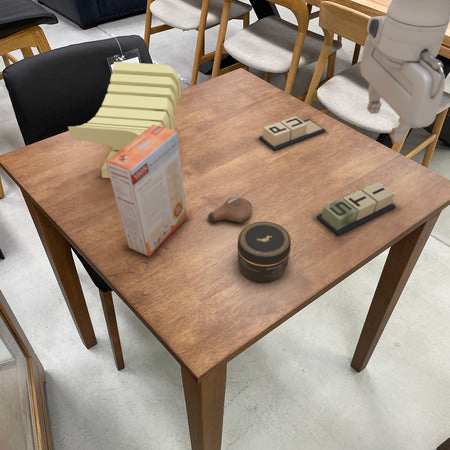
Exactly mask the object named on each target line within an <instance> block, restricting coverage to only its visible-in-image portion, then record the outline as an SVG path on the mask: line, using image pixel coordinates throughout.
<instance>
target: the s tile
mask: <svg viewBox="0 0 450 450" xmlns="http://www.w3.org/2000/svg"><path fill="white" fill-rule="evenodd" d="M321 214H322V218H323V219H324V220H325V221H326V222H328V223H329V224H330V225H331V226H332V227H333V228H335V229H336V230H339V229H341V228H343V227H345V226H347V225H349V224H351V223H353V222H355V218H356V215H357V210H355V209H354V208H353V207H352V206H350V205H349V204H348V203H346V202H345V201H344V200H343V198H340V199H337V200H335V201H333V202H331V203H329V204H327V205H324V206H323V208H322V213H321Z"/></svg>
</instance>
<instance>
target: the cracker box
mask: <svg viewBox="0 0 450 450" xmlns="http://www.w3.org/2000/svg"><path fill="white" fill-rule="evenodd" d="M105 162H106V165H107V169H108V173H109V176H110V178H109V180H110V184H111V187H112V191H113V195H114V198H115V202H116V206H117V209H118V210H117V211H118V214H119V217H120V221H121V226H122V229H123V232H124V237H125V240H126V245H127V247H128V249H130V250H133V251H135V252H137V253H139V254H142V255H144V256H146V257H151V256H152V255H153V254H154V253H155V252H156V251H157V250H158V249H159V248H160V246H162V245H163V244H164V242H165V241H166V240H168V238H170V237H171V235H172V234H173V233H174V232H175V231H176V230H177V229H178V228H179V227H180V226H181V225H182V224H183V223H184V222H185V221H186V220H187V218H188V216H187V208H186V200H185V199H186V198H185V191H184V190H185V189H184V180H183V172H182V162H181V155H180V145H179V136H178V131H177V130H175V131H174V130H170V129H167V128H164V127H160V126H157V125H154V124H153V125H152V126H150V127H149V128H148V129H147V130H145V131H144V132H143V133H141V134H140V135H139V136H138V137H136V138H135V139H134V140H132V141H131V142H130V143H129V144H127V145H126V146H125V147H123V148H122V149H121V150H119V151H118V152H117V153H115V154H114V155H113V156H112V157H110V158H109V159H108V160H106V159H105Z"/></svg>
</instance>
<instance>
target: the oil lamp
mask: <svg viewBox="0 0 450 450" xmlns="http://www.w3.org/2000/svg"><path fill="white" fill-rule="evenodd" d="M252 214H253V205H252V203H251V202H250V201H249V200H248V199H246V198H245V197H244V198H243V197H240V196H237V197H228V198H227V200H226V201H224V202H223V204H221V206H218V207H217V208H216V209H215V210H213V211H211V212H209V214H208V215H207V218H208V220H209V221H210V222H212V223H214V222H219V221H225V220H228V221H231V222H238V223H243V222H244V221H245V220H246V219H248V218H249V217H250V216H252Z"/></svg>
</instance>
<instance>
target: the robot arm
mask: <svg viewBox="0 0 450 450" xmlns="http://www.w3.org/2000/svg"><path fill="white" fill-rule="evenodd" d="M449 24H450V0H391V2H390V4H389V5H388V7H387V10H386V14H385V15H377V16H371V17H369V19H368V22H367V27H366V31H367V33H368V34H367V35H366V39H365V41H364V45H363V50H362V54H361V57H360V58H361V59H360V65H359V66H360V67H359V69H360V75H361V76H362V77H363V78H364V80H366V82H367V83H368V87H367V88H368V103H367V106H366V109H367V111H368V112H369V114H371V115H375V114H379V113H380V111H381V107H382V102H381V98H382V100H384V102H386V104H387V105H388V107H390V108H391V109H392V110H393V111H394V112H395V114H396V115H397V116H398V123H399V124H398V125H397V126H396V127H392V129H391V132H390V135H389V137H390V138H391V140H392V141H393V142H394V143H400V142H402V141H404V139H405V136H406V134H407V132H408V131H409V130H410V129H420V128H426V127H429V126H431V125H432V124H434V122H435V120H436V118H437V114H438V111H439V108H440V105H441V101H442V98H443V95H444V91H445V87H446V86H445V85H446V78H445V77H446V76H445V73H444V69H443V68H444V63H443V62H442V61H441V60H439V59H438V58H436V57H438V54H439V52H440V49H441V46H442V43H443V41H444V38H445V35H446V32H447V29H448V27H449Z"/></svg>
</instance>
